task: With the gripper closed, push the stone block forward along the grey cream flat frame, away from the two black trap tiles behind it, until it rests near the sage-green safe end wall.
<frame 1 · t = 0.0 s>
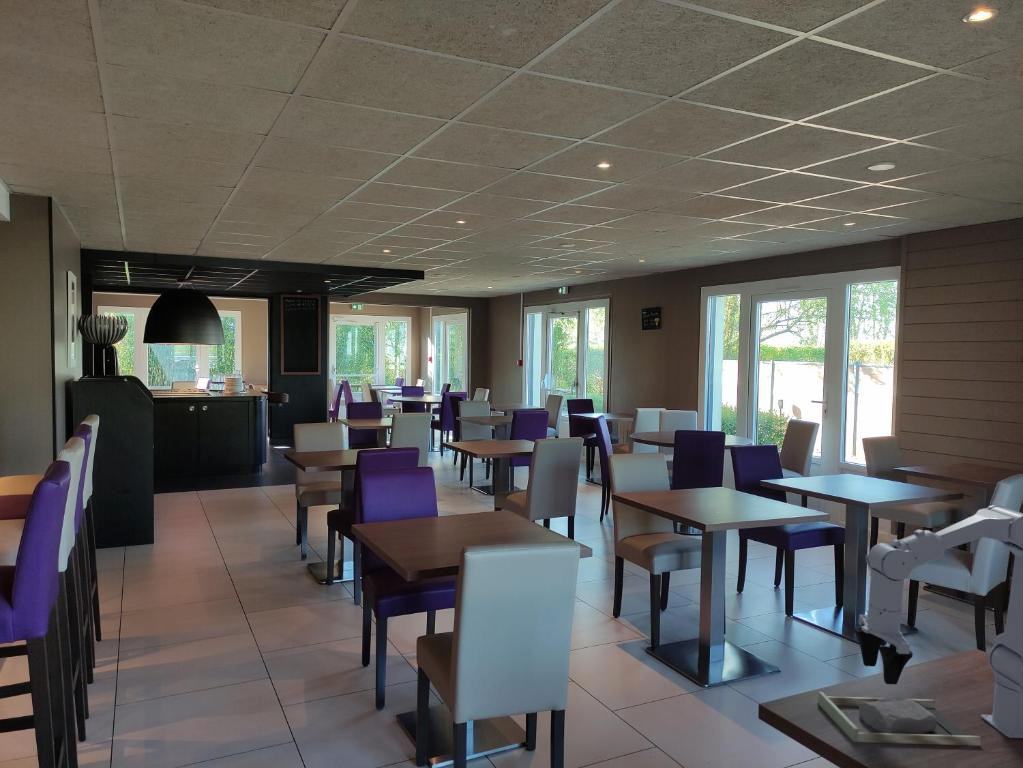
hand: (879, 674, 141), 10 cm above the table, tool pointing down, fingers open, 7 cm apart
grey cream flat frame: (897, 723, 142), on the table
stone block: (894, 723, 142), on the table, touching trap tiles
safe end: (836, 721, 141), on the table
trap tiles: (937, 724, 142), on the table
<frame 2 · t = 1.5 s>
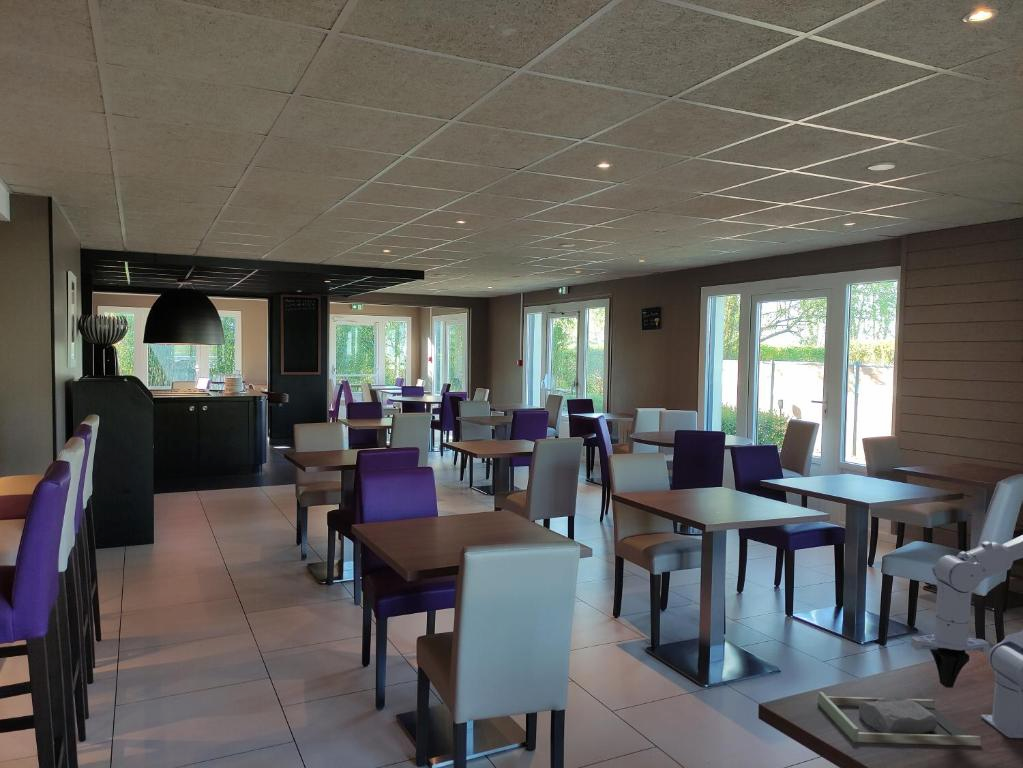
hand: (946, 685, 142), 8 cm above the table, tool pointing down, fingers closed
nothing on the table moved.
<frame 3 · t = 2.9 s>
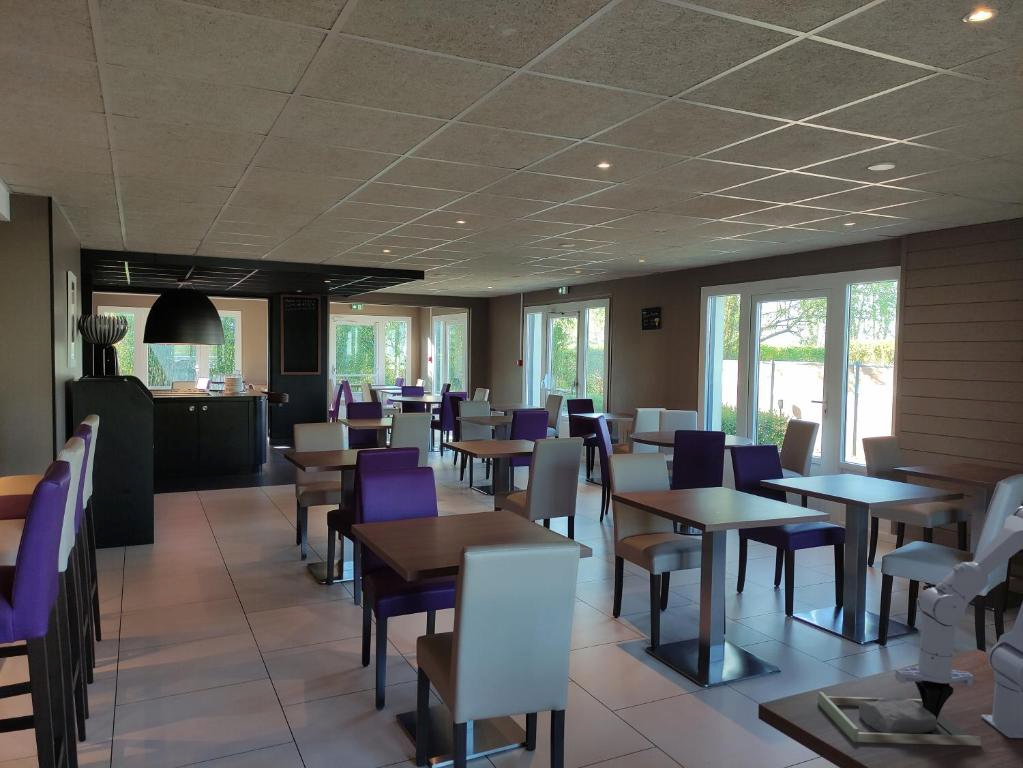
hand: (930, 717, 142), 1 cm above the table, tool pointing down, fingers closed
stone block: (894, 723, 142), on the table, touching gripper, trap tiles
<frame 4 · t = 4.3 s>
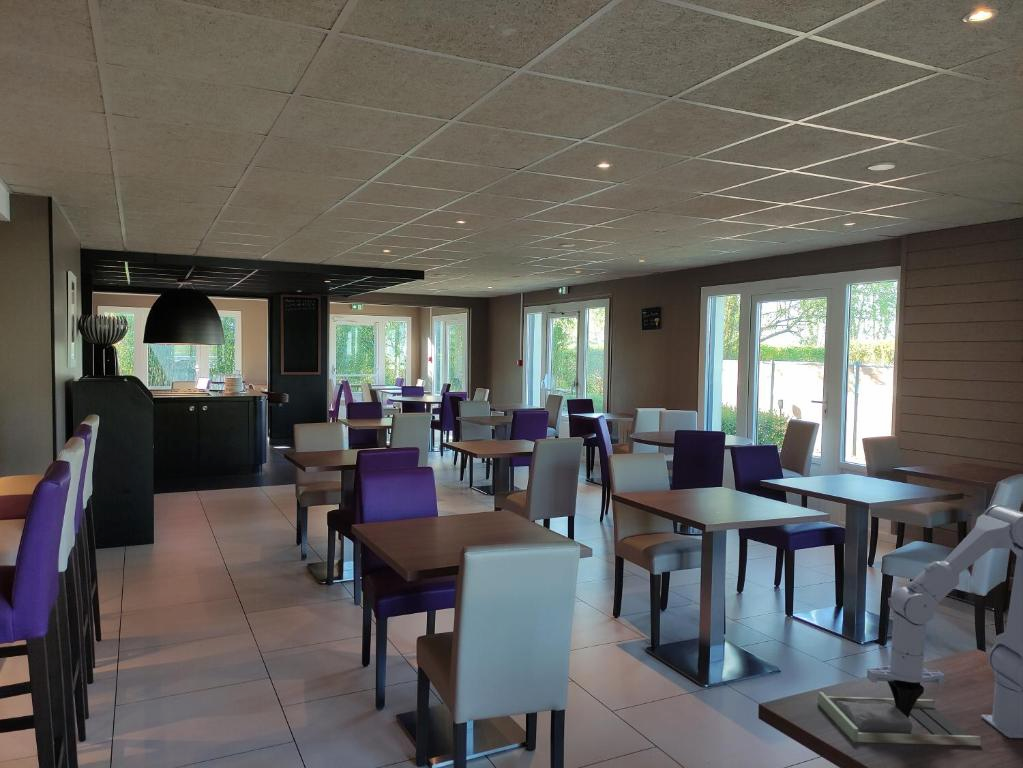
hand: (902, 716, 142), 1 cm above the table, tool pointing down, fingers closed
stone block: (869, 725, 141), on the table, touching gripper, safe end
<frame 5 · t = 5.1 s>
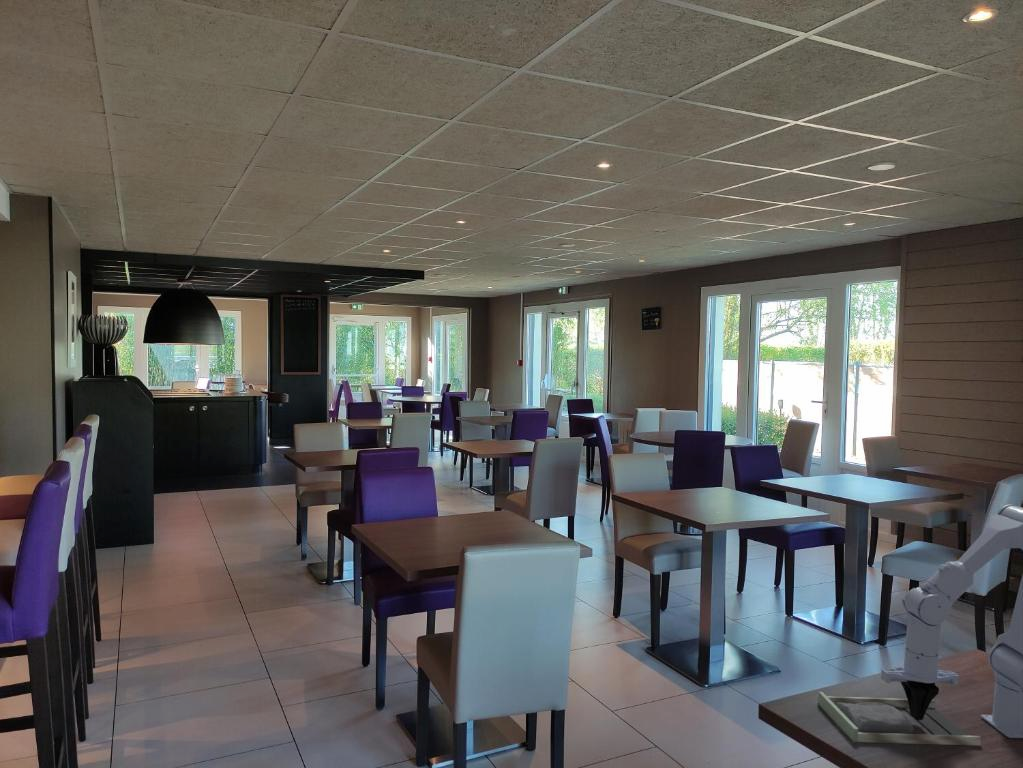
hand: (916, 717, 142), 1 cm above the table, tool pointing down, fingers closed
stone block: (869, 727, 141), on the table
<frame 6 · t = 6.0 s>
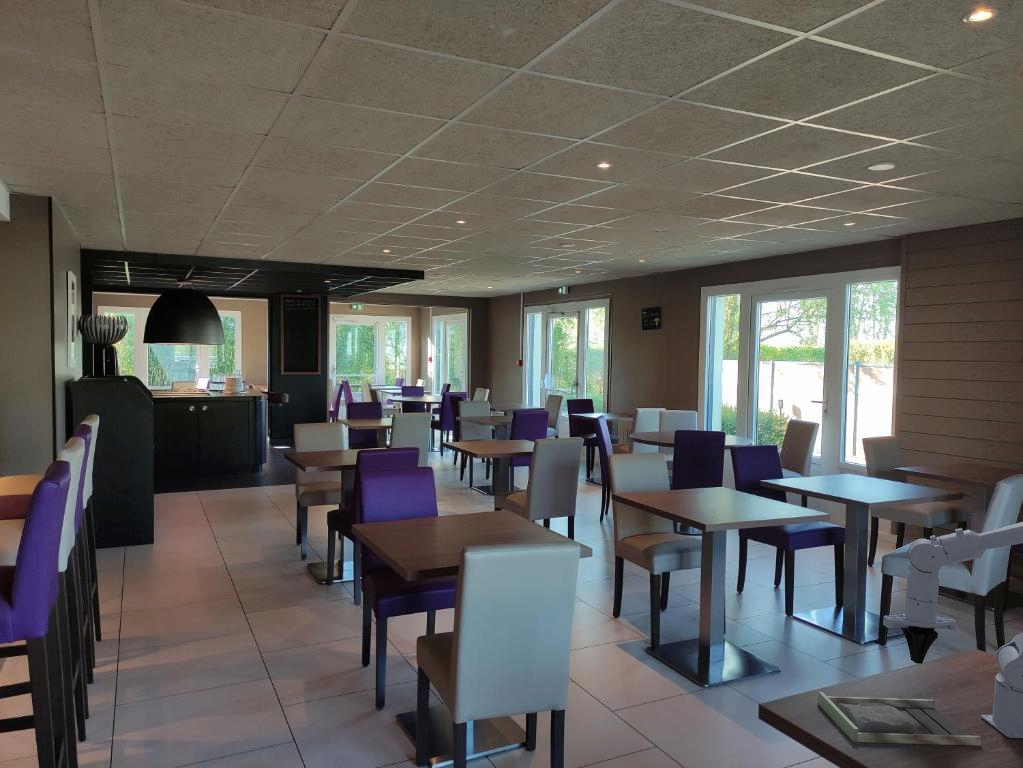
hand: (916, 661, 149), 9 cm above the table, tool pointing down, fingers closed
nothing on the table moved.
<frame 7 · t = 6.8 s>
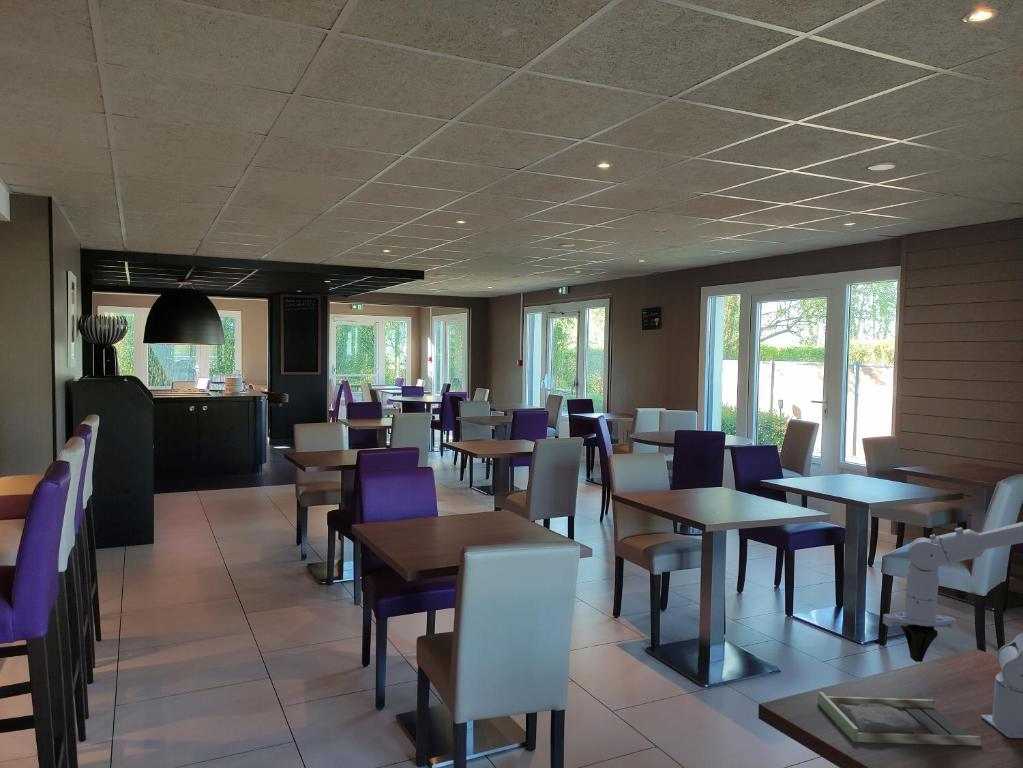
hand: (916, 659, 150), 9 cm above the table, tool pointing down, fingers closed
nothing on the table moved.
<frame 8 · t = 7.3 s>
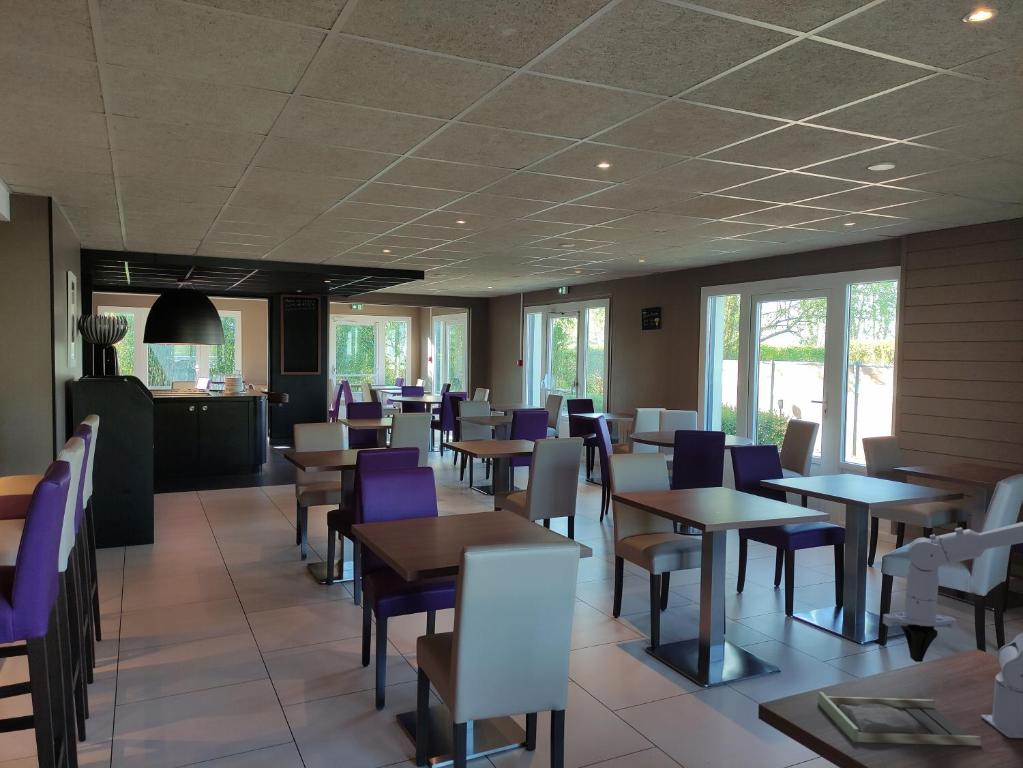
hand: (916, 659, 150), 9 cm above the table, tool pointing down, fingers closed
nothing on the table moved.
at the end: stone block 1.6 cm from the target spot, on the table; stone block touching table; stone block tilted 0° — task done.
